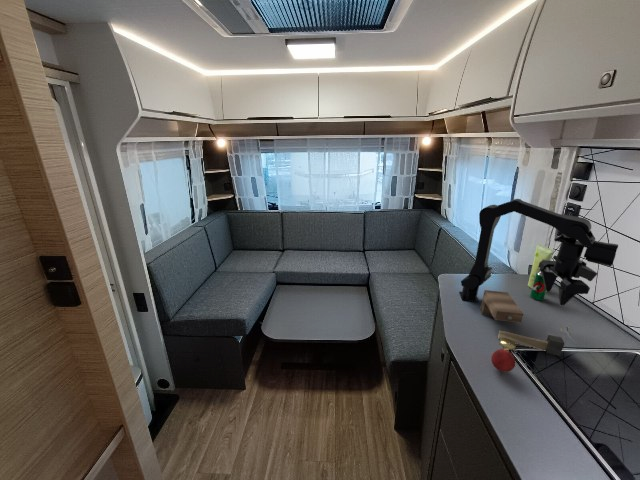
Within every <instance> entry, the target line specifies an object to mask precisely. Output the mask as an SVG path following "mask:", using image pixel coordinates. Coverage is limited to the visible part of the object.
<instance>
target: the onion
mask: <svg viewBox="0 0 640 480" xmlns="http://www.w3.org/2000/svg"><path fill="white" fill-rule="evenodd" d="M490 362H491V363H492V365H493V367H494V368H495V369H496V370H498V371H499V372H501V373H502V372H505V373H507V372H511V371H513V370H514V368H515V367H516V359H515V357H514V355H513V354H512V353H511V351H509V349H507V348H506V349H504V348H500V349H497V350H495V351H493V353H492V354H491V361H490Z"/></svg>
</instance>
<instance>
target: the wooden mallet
mask: <svg viewBox="0 0 640 480" xmlns="http://www.w3.org/2000/svg"><path fill="white" fill-rule="evenodd" d="M502 338H507V339H510V340H512V341H513V342H515V343H518V344H517V345H519V344H522V345H521V346H523V345H526V346H525V347H527V346H529V348H531V347H533V348H532V349H535V348H537V349H536V350H539V349H541V350H540V351H543V350H545V351H544V352H545V353H546V354H548V355H552V356H553V355H554V356H556V357H561V354H562V352H563V348H564V347H565V341H564V339H563V337H561V336H556V335H552V334H547V337H546V340H544V339H543V340H542V339H538V338H534V337H529V336H525V335H522V334H521V335H520V334H516V333H513V332H508V331H504V330H499V331H498V336H497V340H498V339H500V340H501V339H502ZM500 340H499V341H500Z"/></svg>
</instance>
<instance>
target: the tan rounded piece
mask: <svg viewBox="0 0 640 480" xmlns="http://www.w3.org/2000/svg"><path fill="white" fill-rule="evenodd" d="M500 345H501V346H502V347H503V348H502V347H501V346H500ZM499 346H500V347H501V348H502V349H504V348H505V349H506V348H507V349H509V350H513V349H515V350H516V348H517V344H515V342H513V341H512V340H510V339H507V338H502V339H501V340H499ZM513 351H514V350H513Z"/></svg>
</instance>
